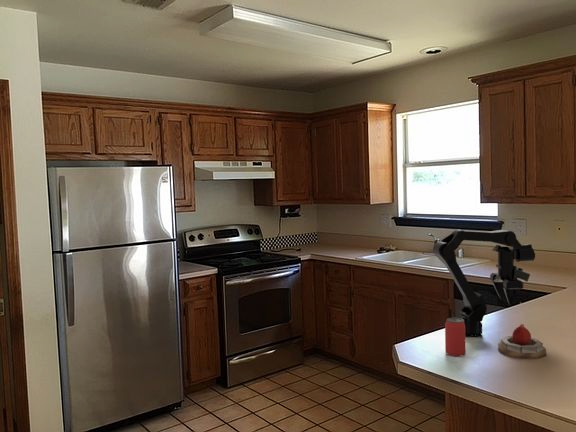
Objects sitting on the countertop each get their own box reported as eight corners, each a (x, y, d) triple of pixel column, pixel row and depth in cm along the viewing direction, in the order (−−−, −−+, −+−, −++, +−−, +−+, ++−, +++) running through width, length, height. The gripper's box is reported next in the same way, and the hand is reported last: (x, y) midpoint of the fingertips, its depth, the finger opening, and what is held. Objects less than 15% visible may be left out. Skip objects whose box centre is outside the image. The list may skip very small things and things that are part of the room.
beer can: (461, 350, 172) (460, 316, 171) (468, 356, 165) (468, 321, 165) (442, 351, 172) (442, 317, 171) (449, 357, 165) (449, 322, 165)
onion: (521, 350, 165) (520, 327, 165) (508, 345, 171) (508, 323, 171) (534, 348, 167) (534, 325, 167) (522, 343, 173) (522, 321, 172)
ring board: (507, 358, 162) (507, 348, 162) (491, 344, 177) (491, 335, 177) (554, 358, 161) (554, 348, 161) (534, 344, 176) (534, 334, 176)
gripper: (537, 265, 179) (538, 307, 180) (517, 258, 198) (517, 296, 199) (506, 266, 180) (507, 308, 181) (489, 259, 199) (489, 297, 200)
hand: (506, 302), depth 190 cm, fingers open, 9 cm apart
